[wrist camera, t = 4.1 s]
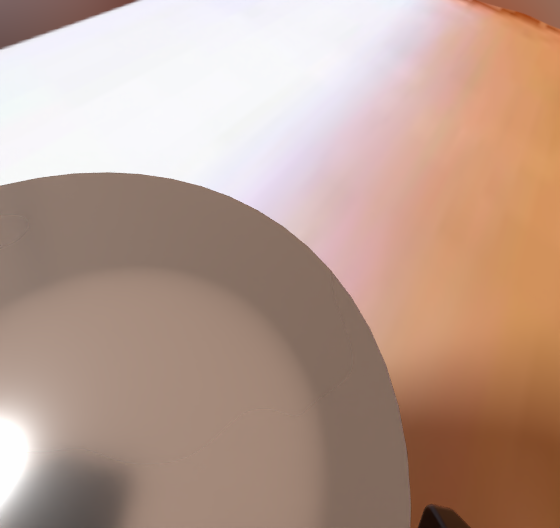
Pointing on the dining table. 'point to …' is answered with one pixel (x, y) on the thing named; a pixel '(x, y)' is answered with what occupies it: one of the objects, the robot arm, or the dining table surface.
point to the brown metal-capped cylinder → (183, 367)
